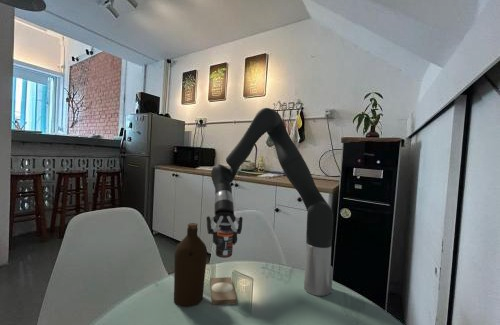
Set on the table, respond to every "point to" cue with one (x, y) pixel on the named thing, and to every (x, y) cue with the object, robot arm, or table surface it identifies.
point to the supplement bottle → (224, 241)
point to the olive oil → (189, 269)
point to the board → (222, 291)
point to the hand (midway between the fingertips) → (225, 243)
